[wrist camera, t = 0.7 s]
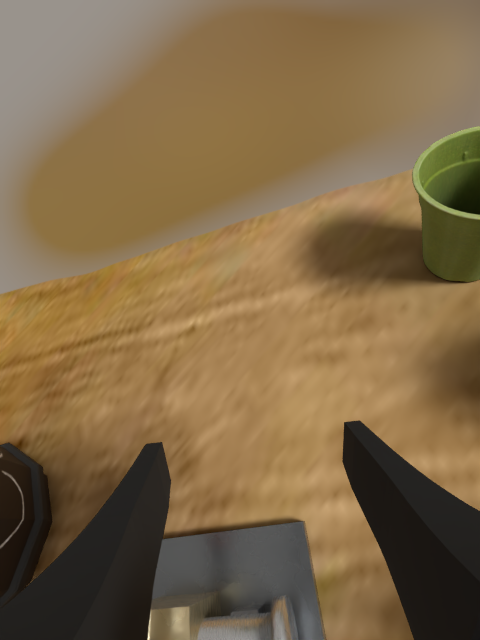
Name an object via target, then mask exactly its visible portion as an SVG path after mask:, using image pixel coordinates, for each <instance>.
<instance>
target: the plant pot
mask: <svg viewBox="0 0 480 640" xmlns="http://www.w3.org/2000/svg"><path fill="white" fill-rule="evenodd" d="M412 180H413V185H414V187H415V190H416V191H417V193H418V194H419V203H420V206H421V210H422V251H423V260H424V263H425V265H426V266H427V268H428V269H429V270H430V271H431V272H432V273H434V274H435V275H437V276H439V277H441V278H443V279H446V280H450V281H465V282H471V281H476V280H480V126H479V127H473V128H469V129H466V130H462V131H459V132H456V133H454V134H451V135H448V136H446V137H444V138H442V139H441V140H439V141H437V142H435V143H434V144H432V145H431V146H430V147H429V148H428V149H427V150H425V151H424V152H423V153H422V154H421V155H420V157H419V158H418V160H417V161H416V163H415V166H414V168H413V172H412Z"/></svg>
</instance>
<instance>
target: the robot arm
mask: <svg viewBox="0 0 480 640" xmlns="http://www.w3.org/2000/svg"><path fill="white" fill-rule="evenodd" d="M343 464H344V467H345V470H346V473H347V476H348V479H349V482H350V485H351V487H352V490H353V492H354V494H355V496H356V498H357V500H358V502H359V505H360V507H361V509H362V511H363V513H364V515H365V517H366V519H367V521H368V523H369V525H370V528H371V530H372V532H373V534H374V536H375V538H376V540H377V542H378V544H379V546H380V549H381V551H382V553H383V556H384V558H385V560H386V563H387V566H388V568H389V571H390V574H391V576H392V579H393V582H394V584H395V587H396V590H397V592H398V595H399V598H400V601H401V603H402V606H403V609H404V612H405V615H406V617H407V620H408V623H409V626H410V629H411V632H412V635H413V638H414V640H480V511H478V510H477V509H475V508H473V507H471V506H470V505H468V504H466V503H465V502H463V501H462V500H460V499H458V498H457V497H455V496H454V495H452V494H451V493H449V492H448V491H446V490H445V489H443V488H442V487H440V486H439V485H437V484H436V483H434V482H433V481H432V480H430V479H429V478H427V477H426V476H425V475H423V474H422V473H421V472H419V471H418V470H417V469H415V468H414V467H413V466H412V465H410V464H409V463H408V462H407V461H405V460H404V459H403V458H402V457H401V456H399V455H398V454H397V453H396V452H395V451H393V450H392V449H391V448H390V447H389V446H388V445H387V444H385V443H384V442H383V441H382V440H381V439H380V438H379V437H378V436H376V435H375V434H374V433H373V432H372V431H371V430H370V429H369V428H368V427H366V426H365V425H364V424H363V423H362V422H361V421H351V422H344V441H343ZM170 485H171V479H170V475H169V470H168V466H167V462H166V457H165V453H164V448H163V444H162V442H160V443H151V444H146V445H145V446H144V448H143V449H142V451H141V452H140V454H139V456H138V457H137V459H136V460H135V462H134V463H133V465H132V466H131V468H130V469H129V471H128V472H127V474H126V475H125V477H124V478H123V480H122V481H121V482H120V484H119V485H118V487H117V488H116V490H115V491H114V492H113V494H112V495H111V496H110V498H109V499H108V500H107V502H106V503H105V504H104V505H103V507H102V508H101V509H100V511H99V512H98V513H97V514H96V516H95V517H94V518H93V519H92V521H91V522H90V523H89V524H88V525H87V526H86V528H85V529H84V530H83V531H82V532H81V533H80V534H79V536H78V537H77V538H76V539H75V540H74V541H73V542H72V543H71V544H70V545H69V546H68V547H67V548H66V549H65V551H64V552H63V553H62V554H61V555H60V556H59V557H58V558H57V559H56V560H55V561H54V562H53V563H52V564H51V565H50V566H49V567H48V568H47V569H46V570H45V571H44V572H42V573H41V574H40V575H39V576H38V577H37V578H36V579H35V580H34V581H33V582H32V583H30V584H29V585H28V586H27V587H26V588H25V589H24V590H23V591H21V592H20V593H19V594H18V595H17V596H16V597H15V598H13V599H12V600H11V601H10V602H9V603H8V604H6V605H5V606H4V607H3V608H1V609H0V640H148V631H149V621H150V612H151V603H152V594H153V586H154V580H155V574H156V569H157V564H158V559H159V554H160V549H161V544H162V539H163V534H164V529H165V524H166V519H167V513H168V508H169V498H170Z"/></svg>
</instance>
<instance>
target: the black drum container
mask: <svg viewBox="0 0 480 640" xmlns="http://www.w3.org/2000/svg"><path fill="white" fill-rule="evenodd" d="M51 524H52V515H51V506H50V497H49V489H48V480H47V476H46V475H45V474H44V473H43V467H42V466H40V465H39V464H38V463H36V462H35V461H34V460H32V459H31V458H30V457H28V456H27V455H26V454H24V453H23V452H22V451H20V450H19V449H17V448H16V447H15V446H13V445H12V444H10V443H6V444H3V445H0V609H1V608H3V607H4V606H5V605H6V604H8V603H9V602H10V601H11V600H12V599H13V598H15V597H16V596H17V595H18V594H19V593H20V592H21V591H22V590H23V589H24V588H25V587H26V586H27V585H28V584H29V582H30V581H31V579H32V577H33V574H34V571H35V568H36V565H37V563H38V560H39V557H40V554H41V552H42V549H43V546H44V543H45V540H46V538H47V535H48V532H49V529H50V526H51Z"/></svg>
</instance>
